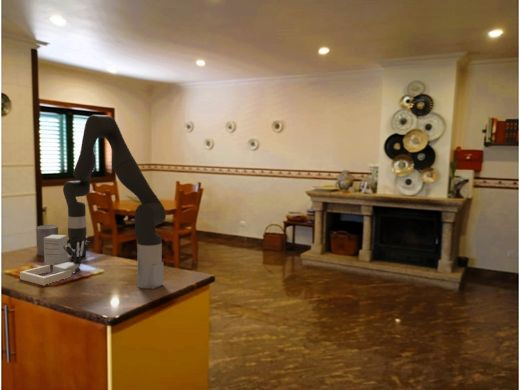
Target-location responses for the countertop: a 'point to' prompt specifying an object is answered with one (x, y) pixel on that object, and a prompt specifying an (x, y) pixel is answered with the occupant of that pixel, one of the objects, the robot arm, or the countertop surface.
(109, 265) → the countertop surface
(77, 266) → the white box with feet
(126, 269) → the countertop surface
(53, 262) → the supplement box
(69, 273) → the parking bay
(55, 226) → the pillar candle
